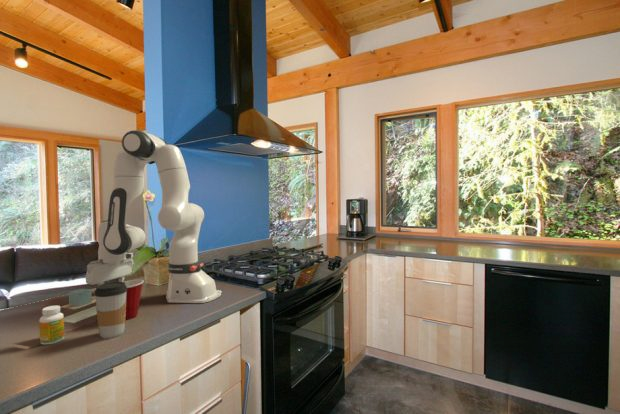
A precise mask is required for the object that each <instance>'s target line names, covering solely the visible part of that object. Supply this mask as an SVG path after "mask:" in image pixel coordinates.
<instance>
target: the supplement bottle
mask: <svg viewBox="0 0 620 414" xmlns="http://www.w3.org/2000/svg"><path fill="white" fill-rule="evenodd" d="M60 307H61V306H60V305H49V306H46V307H43V308H42V309H41V311H42V312H41V314H42V316H41V317H40V318H39V320H38V321H39V322H38V323H39V343H40V344H41V345H44V346H46V345H52V344H57V343H59V342H61V341H62V340H64V339H65V322H64V317H65V316H64V313H62V312H61V308H60Z"/></svg>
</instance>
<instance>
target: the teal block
mask: <svg viewBox="0 0 620 414" xmlns="http://www.w3.org/2000/svg"><path fill="white" fill-rule="evenodd" d="M91 302H92V289H89V288H79V289H76V290H72V291H68V304H69V305H70V306H82V305H85V304H88V303H91Z"/></svg>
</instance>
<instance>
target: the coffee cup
mask: <svg viewBox="0 0 620 414" xmlns="http://www.w3.org/2000/svg"><path fill="white" fill-rule="evenodd" d="M104 283H105V284H101V285H97V286H96V287H95V288H96V289H95V290H94V296H95V297H96V302H95V306H96V309H97V314H96V316H97V317H96V318H97V327H98V332H99V333H98V334H99V336H100V338H102V339H113V338H116V337H119V336H121V335H122V334H123V333H124V331H125V327H126V326H125V325H126V320H125V317H126V291H127V286H125V283H124V281H123V282H118V281H112V282H104Z"/></svg>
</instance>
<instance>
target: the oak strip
mask: <svg viewBox="0 0 620 414" xmlns="http://www.w3.org/2000/svg"><path fill="white" fill-rule="evenodd" d="M105 283H106V282H104V284H105ZM93 304H96V297H95V295H93V296H92V302H91V303H88V304H85V305H82V306H70V305H69V303H68V304H65V305H62V306H60V309H70V310H78V309H80V308H83V307H86V306H89V305H93Z"/></svg>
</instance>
